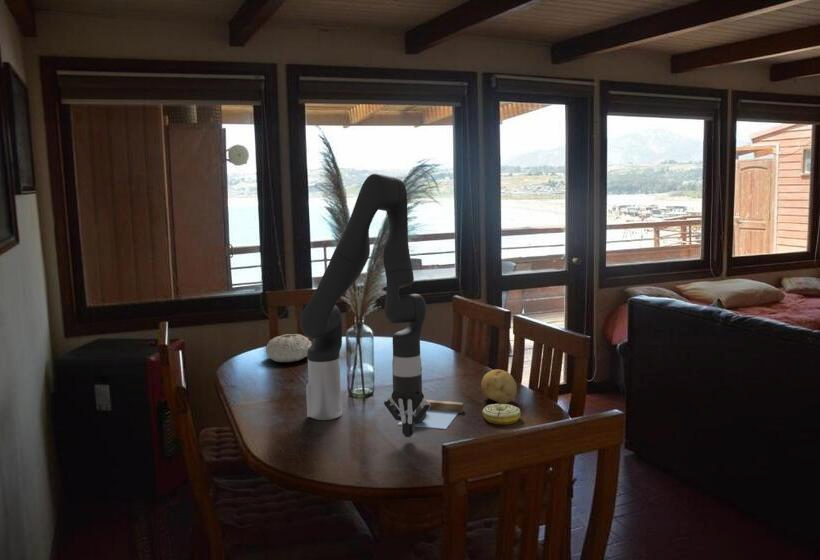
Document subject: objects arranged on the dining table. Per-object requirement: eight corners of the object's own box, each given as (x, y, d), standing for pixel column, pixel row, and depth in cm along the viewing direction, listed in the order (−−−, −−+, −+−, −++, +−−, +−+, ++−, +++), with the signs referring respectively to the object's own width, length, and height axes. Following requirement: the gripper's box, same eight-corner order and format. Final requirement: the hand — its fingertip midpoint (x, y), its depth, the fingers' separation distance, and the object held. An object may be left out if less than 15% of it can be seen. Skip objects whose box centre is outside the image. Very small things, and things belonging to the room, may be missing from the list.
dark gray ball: (405, 423, 189) (408, 423, 184) (404, 404, 190) (408, 402, 185) (424, 423, 190) (428, 422, 185) (423, 404, 191) (427, 402, 186)
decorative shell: (261, 357, 265) (260, 333, 264) (305, 352, 273) (304, 328, 271) (272, 368, 249) (271, 342, 248) (318, 362, 257) (317, 336, 255)
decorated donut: (505, 411, 197) (505, 399, 196) (528, 422, 187) (528, 409, 187) (475, 417, 192) (475, 404, 191) (497, 429, 182) (497, 415, 182)
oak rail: (410, 408, 200) (409, 400, 200) (412, 406, 202) (412, 398, 202) (462, 413, 195) (461, 404, 195) (463, 410, 197) (463, 402, 197)
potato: (503, 393, 212) (503, 363, 211) (522, 405, 200) (522, 373, 199) (474, 397, 209) (473, 366, 208) (491, 410, 197) (491, 377, 196)
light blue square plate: (397, 424, 187) (397, 424, 187) (413, 408, 200) (413, 408, 200) (445, 429, 182) (445, 428, 182) (458, 412, 195) (458, 412, 195)
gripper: (377, 373, 170) (379, 438, 173) (427, 377, 166) (428, 444, 168) (387, 366, 177) (389, 428, 180) (435, 369, 173) (437, 433, 175)
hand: (408, 436), depth 174 cm, fingers closed
